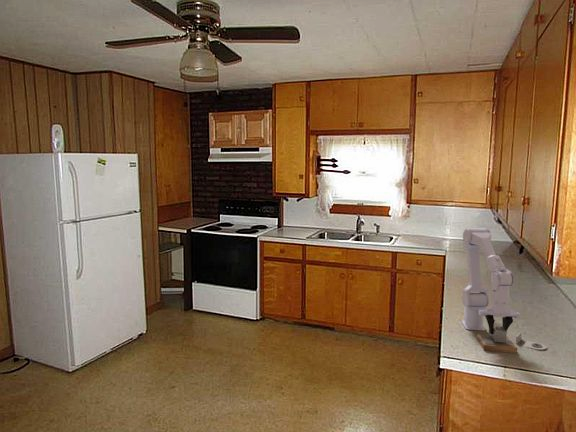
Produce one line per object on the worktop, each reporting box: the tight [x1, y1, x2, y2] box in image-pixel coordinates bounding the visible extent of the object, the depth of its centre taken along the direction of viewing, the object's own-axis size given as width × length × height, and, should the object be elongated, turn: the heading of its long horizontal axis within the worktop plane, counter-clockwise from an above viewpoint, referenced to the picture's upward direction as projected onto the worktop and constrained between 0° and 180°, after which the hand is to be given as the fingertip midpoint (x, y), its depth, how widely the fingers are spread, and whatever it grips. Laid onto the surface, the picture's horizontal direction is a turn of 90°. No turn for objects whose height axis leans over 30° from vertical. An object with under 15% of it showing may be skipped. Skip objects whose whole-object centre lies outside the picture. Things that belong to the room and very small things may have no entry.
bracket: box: [515, 331, 547, 351], centre depth 164 cm, size 7×10×4 cm, turn 47°
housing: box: [488, 322, 508, 342], centre depth 162 cm, size 8×4×5 cm, turn 170°
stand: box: [476, 333, 519, 354], centre depth 163 cm, size 10×12×2 cm
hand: (497, 333), depth 163 cm, fingers closed on housing, 4 cm apart
